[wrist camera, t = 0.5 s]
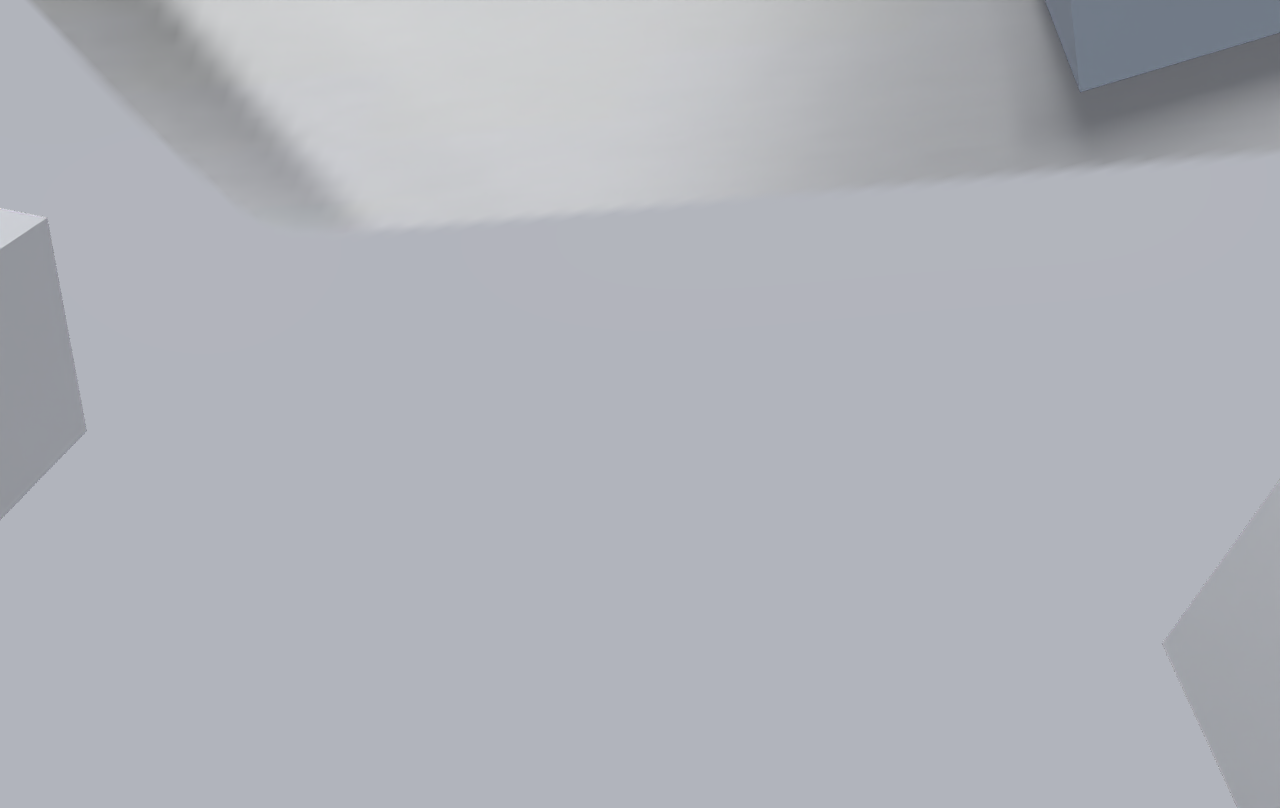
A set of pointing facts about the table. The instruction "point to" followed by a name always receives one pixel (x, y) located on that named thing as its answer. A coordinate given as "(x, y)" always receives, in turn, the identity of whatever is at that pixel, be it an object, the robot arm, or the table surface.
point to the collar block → (1153, 33)
